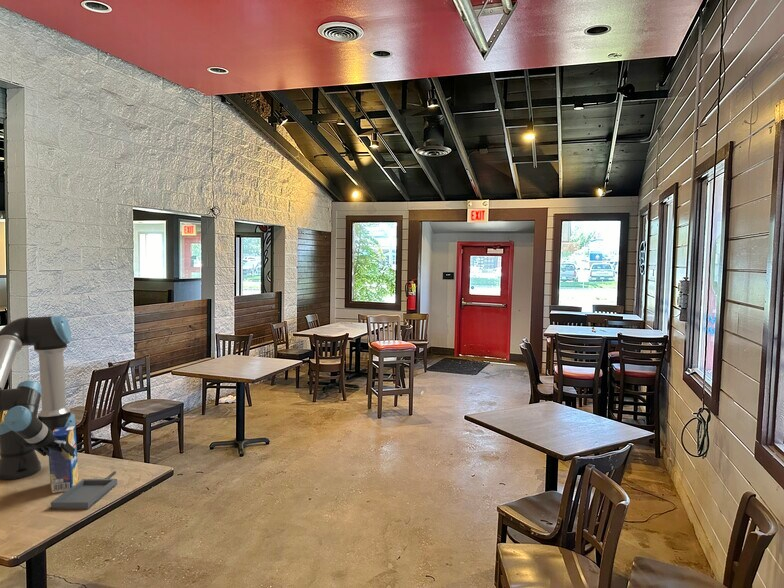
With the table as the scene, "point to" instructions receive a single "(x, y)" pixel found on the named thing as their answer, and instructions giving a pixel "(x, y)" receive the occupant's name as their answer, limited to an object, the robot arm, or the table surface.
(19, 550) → the table surface
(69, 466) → the beverage box
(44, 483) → the table surface
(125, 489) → the table surface
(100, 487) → the grey tray with handle
